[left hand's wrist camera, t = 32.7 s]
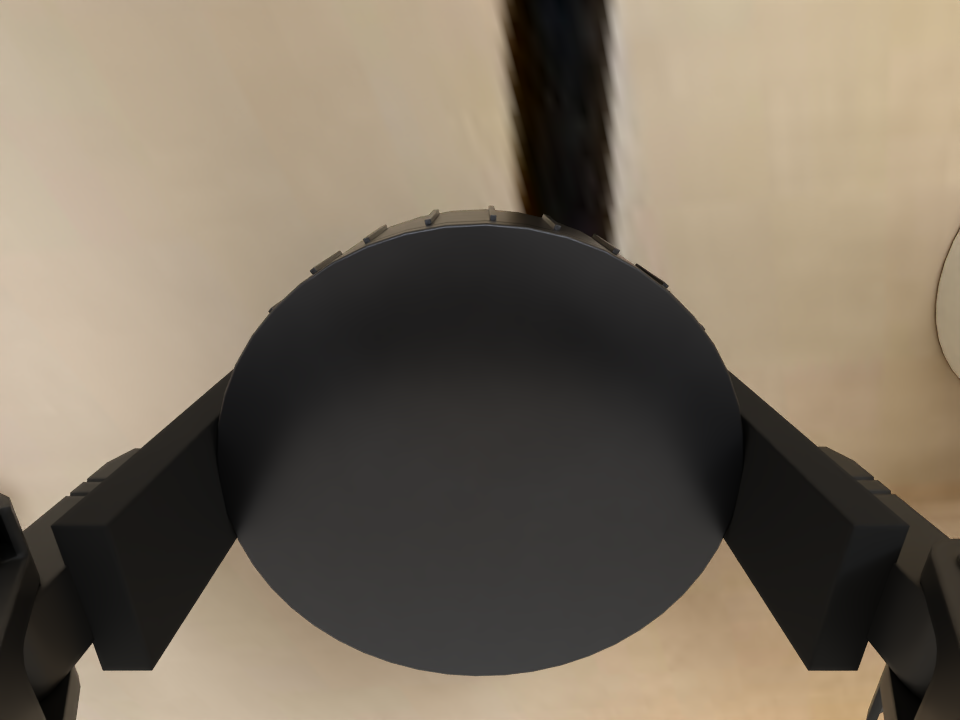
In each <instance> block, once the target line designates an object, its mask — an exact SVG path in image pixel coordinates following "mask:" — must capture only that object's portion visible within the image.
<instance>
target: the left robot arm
mask: <svg viewBox="0 0 960 720" xmlns="http://www.w3.org/2000/svg"><path fill="white" fill-rule="evenodd" d="M233 370H234V369H233ZM233 370H232V371H231V372H230V373H228V374H227V375H226V376H225V377H224V378H223V379H221V380H220V381H219V382H218V383H217V384H216V385H214V386H213V387H212V388H211V389H210V390H209V391H207V392H206V393H205V394H204V395H203V396H202V397H200V398H199V399H198V400H197V401H196V402H195V403H193V404H192V405H191V406H190V407H189V408H188V409H186V410H185V411H184V412H183V413H182V414H181V415H179V416H178V417H177V418H176V419H175V420H174V421H172V422H171V423H170V424H169V425H168V426H167V427H165V428H164V429H163V430H162V431H161V432H160V433H158V434H157V435H156V436H155V437H154V438H153V439H151V440H150V441H149V442H148V443H147V444H146V445H144V446H143V447H142V448H141V449H133V450H131V451H129V452H127V453H125V454H123V455H121V456H119V457H117V458H115V459H113V460H111V461H109V462H107V463H106V464H105V465H104V466H102V467H101V468H100V469H99V470H98V471H96V472H95V473H94V474H93V475H91V476H90V477H89V478H88V479H87V482H83V483H82V484H80V485H79V486H78V487H77V488H76V489H74V490H73V491H72V492H71V493H70V496H66V497H65V498H63V499H62V500H61V501H60V502H58V503H57V504H56V505H55V506H54V507H52V508H51V509H50V510H49V511H47V512H46V513H45V514H44V515H42V516H41V517H40V518H39V519H38V520H36V521H35V522H34V523H33V524H31V525H30V526H29V527H28V528H27V529H25V530H24V531H23V532H22V529H21V526H20V524H19V521H18V519H17V516H16V513H15V511H14V508H13V506H12V503H11V501H10V498H9V497H7V496H5V495H3V494H1V493H0V720H76V715H77V708H78V701H79V694H80V682H79V676H78V673H77V671H76V668H75V666H74V665H75V664H76V663H77V662H78V660H79V659H80V658H81V657H82V655H83V654H84V653H85V652H86V650H87V649H88V648H89V647H90V645H91V644H92V643H93V644H94V647H95V650H96V653H97V655H98V658H99V661H100V664H101V666H102V669H103V670H153V668H154V667H155V665H156V664H157V662H158V660H159V659H160V657H161V656H162V654H163V653H164V651H165V649H166V648H167V646H168V645H169V643H170V642H171V640H172V639H173V637H174V635H175V634H176V632H177V631H178V629H179V628H180V626H181V624H182V623H183V621H184V620H185V618H186V617H187V615H188V614H189V612H190V610H191V609H192V607H193V606H194V604H195V603H196V601H197V599H198V598H199V596H200V595H201V593H202V592H203V590H204V589H205V587H206V585H207V584H208V582H209V581H210V579H211V578H212V576H213V574H214V573H215V571H216V570H217V568H218V567H219V565H220V563H221V562H222V560H223V559H224V557H225V556H226V554H227V553H228V551H229V549H230V548H231V546H232V545H233V543H234V542H235V540H236V538H237V536H236V534H235V531H234V529H233V526H232V524H231V522H230V519H229V517H228V515H227V511H226V507H225V503H224V498H223V494H222V489H221V484H220V479H219V474H218V466H217V457H216V455H217V433H218V422H219V417H220V412H221V407H222V403H223V398H224V394H225V391H226V388H227V386H228V383H229V380H230V378H231V375H232V372H233ZM727 371H728V370H727ZM728 373H729V375H730V378H731V381H732V384H733V387H734V390H735V393H736V397H737V400H738V403H739V407H740V414H741V420H742V427H743V434H744V467H743V472H742V477H741V482H740V487H739V492H738V497H737V501H736V506H735V509H734V513H733V516H732V519H731V522H730V524H729V527H728V529H727V531H726V533H725V535H724V537H723V538H724V540H725V541H726V543H727V544H728V546H729V547H730V549H731V550H732V552H733V554H734V555H735V557H736V558H737V560H738V561H739V563H740V565H741V566H742V568H743V569H744V571H745V572H746V574H747V575H748V577H749V579H750V580H751V582H752V583H753V585H754V586H755V588H756V590H757V591H758V593H759V594H760V596H761V597H762V599H763V600H764V602H765V604H766V605H767V607H768V608H769V610H770V611H771V613H772V615H773V616H774V618H775V619H776V621H777V622H778V624H779V625H780V627H781V629H782V630H783V632H784V633H785V635H786V636H787V638H788V640H789V641H790V643H791V644H792V646H793V647H794V649H795V650H796V652H797V654H798V655H799V657H800V658H801V660H802V661H803V663H804V665H805V666H806V668H807V669H808V671H857V670H858V668H859V665H860V662H861V659H862V657H863V654H864V651H865V648H866V646H867V643H868V641H869V642H870V643H871V644H872V646H873V647H874V648H875V649H876V651H877V652H878V653H879V654H880V656H881V657H882V658H883V659H884V661H885V662H886V666H885V668H884V671H883V673H882V676H881V678H880V681H879V684H878V686H877V689H876V691H875V694H874V697H873V699H872V702H871V704H870V707H869V709H868V714H867V719H866V720H877V719H878V716H879V714H880V713H882V712H883V714H884V720H960V539H950V538H948V537H947V536H946V535H945V534H943V533H942V532H941V531H940V530H938V529H937V528H936V527H935V526H934V525H932V524H931V523H930V522H929V521H927V520H926V519H925V518H924V517H922V516H921V515H920V514H919V513H918V512H916V511H915V510H914V509H913V508H911V507H910V506H909V505H908V504H906V503H905V502H904V501H903V500H901V499H900V498H899V497H898V496H897V495H895V494H891V491H890V490H889V489H888V488H887V487H885V486H884V485H883V484H882V483H881V482H879V481H878V480H874V477H873V476H872V475H871V474H869V473H868V472H867V471H866V470H864V469H863V468H862V467H861V466H860V465H858V464H857V463H856V462H855V461H853V460H851V459H849V458H847V457H845V456H843V455H841V454H839V453H837V452H836V451H834V450H832V449H830V448H828V447H817V446H816V445H815V444H814V443H813V442H811V441H810V440H809V439H808V438H807V437H806V436H804V435H803V434H802V433H801V432H800V431H799V430H797V429H796V428H795V427H794V426H793V425H792V424H790V423H789V422H788V421H787V420H786V419H785V418H783V417H782V416H781V415H780V414H779V413H778V412H776V411H775V410H774V409H773V408H772V407H770V406H769V405H768V404H767V403H766V402H765V401H763V400H762V399H761V398H760V397H759V396H758V395H756V394H755V393H754V392H753V391H752V390H751V389H749V388H748V387H747V386H746V385H745V384H744V383H742V382H741V381H740V380H739V379H738V378H737V377H735V376H734V375H733V374H732V373H731V372H730V371H728Z"/></svg>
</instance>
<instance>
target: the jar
mask: <svg viewBox="0 0 960 720" xmlns="http://www.w3.org/2000/svg"><path fill="white" fill-rule="evenodd" d="M936 325H937V331H938V338H939V342H940V345H941V348H942V351H943V353H944V356H945V358H946V360H947V361H948V363H949V365H950V367H951V369H952V370H953V371H954V373H955V374H956V375H957V376H958V377H959V379H960V230H959V232H958V234H957V236H956V237H955V239H954V241H953V244H952V246H951V249H950V251H949V253H948V256H947V258H946V261H945V264H944V267H943V271H942V274H941V278H940V281H939V287H938V294H937V300H936Z"/></svg>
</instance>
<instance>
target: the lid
mask: <svg viewBox="0 0 960 720" xmlns="http://www.w3.org/2000/svg"><path fill="white" fill-rule="evenodd" d="M619 251H620V250H619V249H617V248H616V247H614V246H612V245H611V244H609V243H608V242H606V241H605V240H603V239H602V238H600V237H599V236H597V235H595V234H593V236H592V238H591V237H590V236H588V235H586V234H584V233H582V232H581V231H578V230H576V229H573V228H570V227H568V226H565V225H563V224H560V223H557V222H556V221H554V220H553V219H552V218H551V217H550V216H548V215H546V214H543V217H542V218H540V217H536V216H532V215H527V214H523V213H519V212H508V211H497V210H495V208H494V206H489V209H488V210H486V209H484V210H463V211H450V212H444V213H439V210H438V209H437V210H433V211H432V212H431V214H430V215H428V216H423V217H419V218H416V219H413V220H410V221H407V222H404V223H401V224H398V225H395V226H392V227H389V228H387V226H386V225H384V226H381V227H380V228H379V229H377V230H376V231H374V232H373V233H371V234H370V235H368V236H367V237H365V238H364V239H363V241H361V242H360V243H358V244H357V245H355V246H354V247H352V248H351V249H349V250H348V251H346V252H345V253H344V254H342V253H341V251H338V252H337V253H335V254H334V255H332V256H331V257H329V258H328V259H326V260H325V261H323V262H322V263H320V264H319V265H317V266H316V267H314V268H313V269H311V270H310V272H311V273H312V274H313V275H312V276H310V277H309V278H307V279H306V280H305V281H303V282H302V283H300V284H299V285H298V286H297V287H296V288H295V289H294V290H293V291H292V292H291V293H290V294H288V295H287V296H286V297H285V298H284V299H283V300H282V301H280V302H279V303H277V304H276V305H275V306H273V307H272V308H271V309H270V310H269V315H268V316H267V317H266V319H265V320H264V321H263V322H262V324H261V325H260V326H259V327H258V329H257V330H256V331H255V332H254V334H253V335H252V336H251V338H250V340H249V342H248V343H247V345H246V347H245V349H244V350H243V352H242V354H241V356H240V357H239V359H238V361H237V363H236V364H235V367H234V370H233V372H232V375H231V378H230V380H229V383H228V386H227V388H226V391H225V394H224V398H223V403H222V407H221V412H220V417H219V422H218V433H217V455H216V457H217V466H218V474H219V479H220V484H221V489H222V494H223V498H224V503H225V507H226V511H227V515H228V517H229V519H230V522H231V524H232V526H233V529H234V531H235V534H236V536H237V538H238V541H239V542H240V544H241V546H242V547H243V549H244V551H245V552H246V554H247V556H248V557H249V559H250V561H251V562H252V564H253V565H254V567H255V568H256V569H257V571H258V572H259V573H260V574H261V576H262V577H263V578H264V579H265V581H266V582H267V583H268V584H269V586H270V587H271V588H272V589H273V590H274V591H275V592H276V593H277V594H278V595H279V596H280V597H281V598H282V599H283V600H284V601H285V602H286V603H287V604H288V605H289V606H290V607H291V608H292V609H294V610H295V611H296V612H297V613H299V614H300V615H301V616H303V617H304V618H305V619H306V620H308V621H309V622H310V623H311V624H313V625H314V626H316V627H317V628H319V629H321V630H322V631H324V632H325V633H327V634H329V635H330V636H332V637H333V638H335V639H337V640H338V641H340V642H342V643H345V644H347V645H349V646H351V647H353V648H355V649H357V650H359V651H361V652H363V653H366V654H368V655H371V656H374V657H377V658H379V659H382V660H385V661H388V662H390V663H394V664H398V665H402V666H406V667H410V668H414V669H417V670H423V671H429V672H436V673H442V674H451V675H467V676H493V675H510V674H518V673H526V672H533V671H538V670H542V669H547V668H551V667H556V666H560V665H563V664H567V663H570V662H573V661H576V660H579V659H582V658H585V657H588V656H590V655H593V654H595V653H597V652H599V651H602V650H604V649H606V648H608V647H611V646H613V645H615V644H617V643H618V642H620V641H622V640H624V639H625V638H627V637H629V636H631V635H632V634H634V633H636V632H638V631H639V630H641V629H642V628H644V627H645V626H646V625H648V624H649V623H650V622H652V621H653V620H655V619H656V618H657V617H659V616H660V615H661V614H663V613H664V612H665V611H666V610H667V609H668V608H669V607H670V606H671V605H673V604H674V603H675V602H676V601H677V600H678V599H679V598H680V597H681V596H682V595H683V594H684V593H685V592H686V591H687V590H688V589H689V587H690V586H691V585H692V584H693V583H694V582H695V580H696V579H697V578H698V577H699V576H700V575H701V573H702V572H703V571H704V569H705V568H706V566H707V565H708V563H709V561H710V560H711V558H712V557H713V555H714V554H715V552H716V551H717V549H718V547H719V545H720V543H721V541H722V539H723V537H724V535H725V533H726V531H727V529H728V527H729V524H730V522H731V519H732V516H733V513H734V509H735V506H736V501H737V497H738V492H739V487H740V482H741V477H742V472H743V467H744V434H743V427H742V420H741V414H740V407H739V403H738V400H737V397H736V393H735V390H734V387H733V384H732V381H731V378H730V375H729V373H728V371H727V369H726V367H725V365H724V363H723V361H722V359H721V357H720V355H719V353H718V351H717V349H716V347H715V345H714V343H713V342H712V341H711V339H710V338H709V336H708V335H707V334H706V332H705V331H704V330H705V329H704V327H703V326H702V325H701V324H700V323H698V321H697V320H696V318H695V317H694V316H693V315H692V314H691V313H690V312H689V311H688V310H687V309H686V308H685V307H684V306H683V305H682V304H681V303H680V302H679V301H678V300H677V299H676V298H675V297H674V296H673V294H672V293H671V292H670V291H668V290H667V288H668V285H667V284H666V283H665V282H663V281H662V280H660V279H659V278H657V277H656V276H655V275H653V274H652V273H650V272H649V271H647V270H646V269H644V268H643V267H641V266H640V265H638V264H636V265H633V264H632V263H631V262H629V261H628V260H626V259H625V258H623V257H622V256H621V255H619V254H618V253H619Z"/></svg>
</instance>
